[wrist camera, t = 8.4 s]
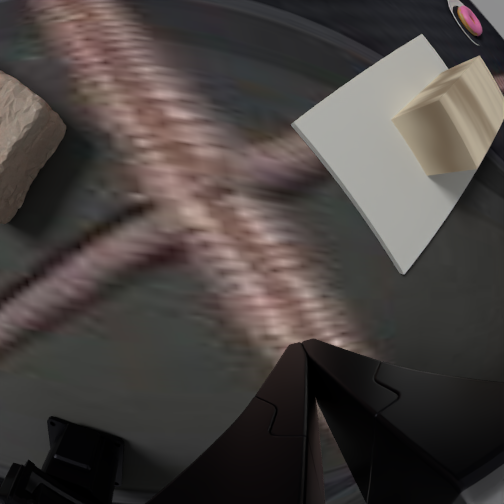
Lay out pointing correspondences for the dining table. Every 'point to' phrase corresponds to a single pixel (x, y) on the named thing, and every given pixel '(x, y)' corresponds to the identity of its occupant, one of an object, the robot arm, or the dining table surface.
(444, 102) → the block
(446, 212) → the mat
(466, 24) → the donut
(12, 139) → the brick
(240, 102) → the dining table surface
